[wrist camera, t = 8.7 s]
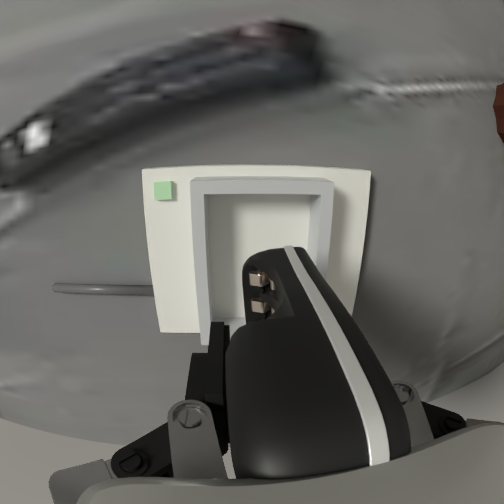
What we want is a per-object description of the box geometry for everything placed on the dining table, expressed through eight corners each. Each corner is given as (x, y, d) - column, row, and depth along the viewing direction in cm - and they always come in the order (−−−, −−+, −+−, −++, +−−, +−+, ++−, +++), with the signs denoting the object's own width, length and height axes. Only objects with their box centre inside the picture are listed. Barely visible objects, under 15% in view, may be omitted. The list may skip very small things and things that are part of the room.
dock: (364, 169, 21) (387, 175, 17) (345, 318, 25) (359, 343, 22) (36, 181, 19) (10, 189, 15) (64, 318, 23) (47, 339, 20)
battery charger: (224, 244, 14) (213, 495, 3) (304, 238, 14) (440, 446, 3) (237, 359, 16) (248, 553, 6) (302, 352, 16) (357, 535, 6)
